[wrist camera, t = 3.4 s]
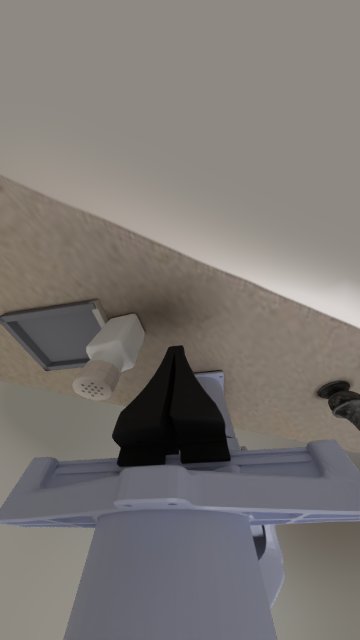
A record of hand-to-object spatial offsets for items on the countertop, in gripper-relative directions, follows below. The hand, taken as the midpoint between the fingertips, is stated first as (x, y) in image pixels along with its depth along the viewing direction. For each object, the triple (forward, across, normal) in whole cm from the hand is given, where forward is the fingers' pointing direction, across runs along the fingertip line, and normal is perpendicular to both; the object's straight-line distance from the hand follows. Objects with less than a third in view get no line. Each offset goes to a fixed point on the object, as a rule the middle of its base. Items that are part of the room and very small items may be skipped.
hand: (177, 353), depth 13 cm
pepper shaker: (+7, +7, 0) cm, 10 cm away
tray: (+6, +16, +1) cm, 17 cm away
